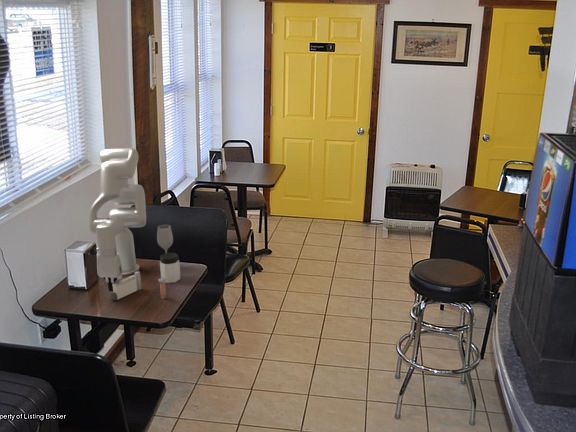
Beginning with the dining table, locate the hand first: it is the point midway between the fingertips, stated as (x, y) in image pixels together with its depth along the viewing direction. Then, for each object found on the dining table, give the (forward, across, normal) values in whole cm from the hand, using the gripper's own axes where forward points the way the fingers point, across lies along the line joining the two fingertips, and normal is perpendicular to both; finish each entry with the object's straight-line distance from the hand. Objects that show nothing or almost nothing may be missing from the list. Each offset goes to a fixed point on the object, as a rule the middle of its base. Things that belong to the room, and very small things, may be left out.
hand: (112, 290), depth 281 cm
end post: (+3, +23, +4) cm, 23 cm away
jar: (+3, +17, +23) cm, 29 cm away
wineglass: (+3, +9, +37) cm, 38 cm away
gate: (+3, +5, +3) cm, 7 cm away
